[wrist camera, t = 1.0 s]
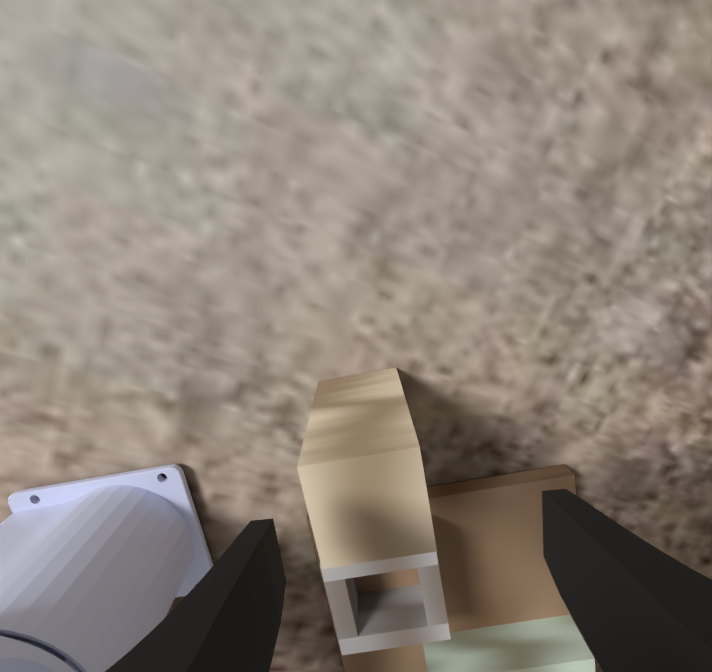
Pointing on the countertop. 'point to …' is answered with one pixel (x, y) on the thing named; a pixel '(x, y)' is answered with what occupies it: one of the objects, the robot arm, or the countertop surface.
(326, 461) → the peg
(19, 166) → the countertop surface
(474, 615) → the socket board
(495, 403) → the countertop surface
